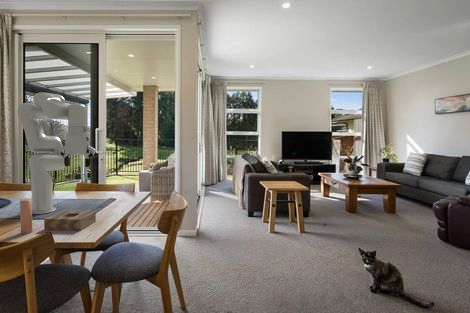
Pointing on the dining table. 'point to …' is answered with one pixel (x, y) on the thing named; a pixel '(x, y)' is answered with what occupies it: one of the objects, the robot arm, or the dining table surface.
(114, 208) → the dining table surface
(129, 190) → the dining table surface
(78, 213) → the socket block
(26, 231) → the peg
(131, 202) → the dining table surface
